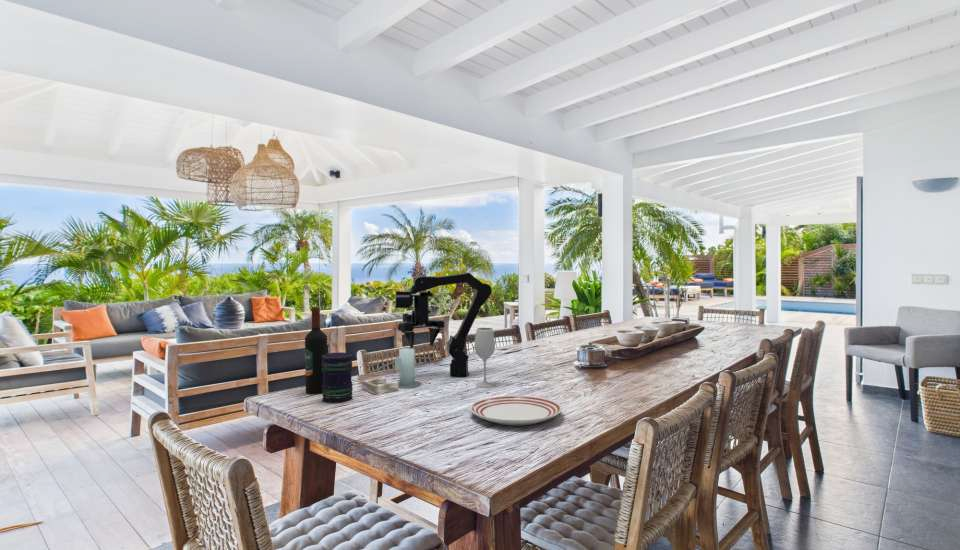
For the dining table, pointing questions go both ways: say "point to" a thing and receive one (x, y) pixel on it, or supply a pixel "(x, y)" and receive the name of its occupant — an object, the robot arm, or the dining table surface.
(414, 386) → the grey flat disc
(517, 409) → the dinner plate
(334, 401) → the storage jar
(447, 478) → the dining table surface
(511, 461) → the dining table surface
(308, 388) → the wine bottle
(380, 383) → the frame
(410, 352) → the pale green rounded piece
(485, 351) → the wineglass
